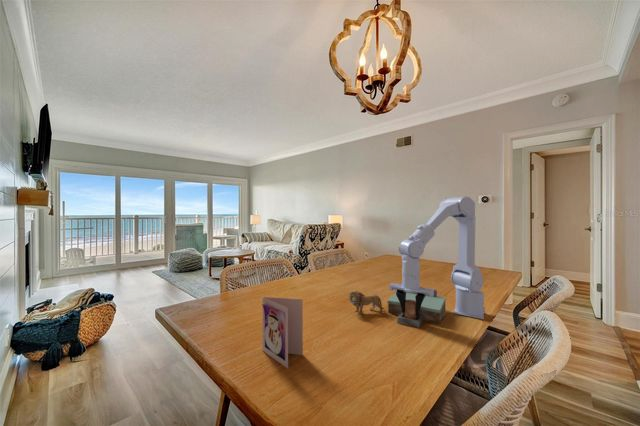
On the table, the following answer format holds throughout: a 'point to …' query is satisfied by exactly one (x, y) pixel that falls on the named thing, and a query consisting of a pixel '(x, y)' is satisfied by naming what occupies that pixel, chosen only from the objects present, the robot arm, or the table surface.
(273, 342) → the greeting card
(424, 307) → the lid
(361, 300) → the lion figurine
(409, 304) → the key peg
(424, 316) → the dark grey box base
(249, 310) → the table surface
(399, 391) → the table surface
